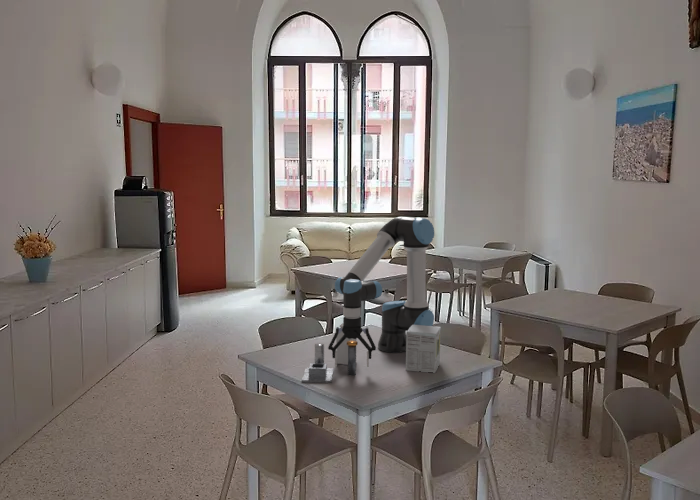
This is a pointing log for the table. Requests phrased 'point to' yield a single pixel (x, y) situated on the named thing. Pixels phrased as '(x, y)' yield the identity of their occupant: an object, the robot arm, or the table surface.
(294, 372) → the table surface
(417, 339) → the supplement box
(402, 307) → the robot arm
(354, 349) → the grey cylinder orange top
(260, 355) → the table surface
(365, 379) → the table surface
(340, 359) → the milk carton
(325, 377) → the post on square base
